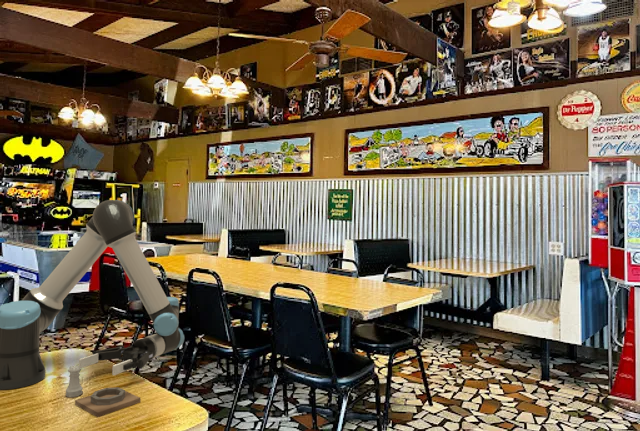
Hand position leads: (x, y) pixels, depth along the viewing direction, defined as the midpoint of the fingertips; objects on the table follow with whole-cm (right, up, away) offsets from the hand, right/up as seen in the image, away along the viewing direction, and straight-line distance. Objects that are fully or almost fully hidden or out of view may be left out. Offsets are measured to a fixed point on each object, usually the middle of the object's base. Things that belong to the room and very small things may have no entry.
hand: (96, 367), depth 136 cm
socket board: (+9, -6, -11) cm, 16 cm away
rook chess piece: (-3, -6, -6) cm, 9 cm away
